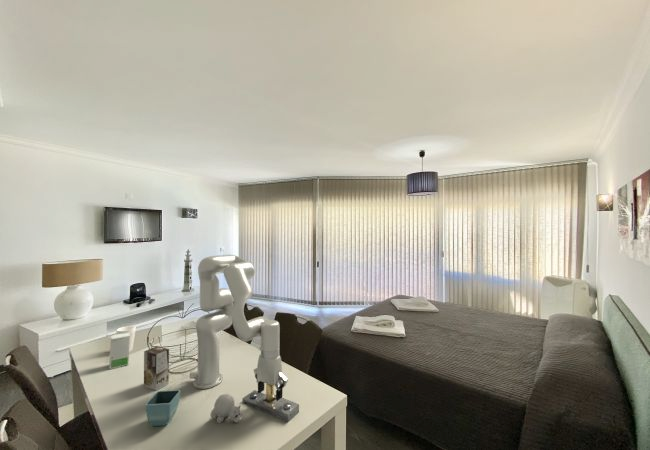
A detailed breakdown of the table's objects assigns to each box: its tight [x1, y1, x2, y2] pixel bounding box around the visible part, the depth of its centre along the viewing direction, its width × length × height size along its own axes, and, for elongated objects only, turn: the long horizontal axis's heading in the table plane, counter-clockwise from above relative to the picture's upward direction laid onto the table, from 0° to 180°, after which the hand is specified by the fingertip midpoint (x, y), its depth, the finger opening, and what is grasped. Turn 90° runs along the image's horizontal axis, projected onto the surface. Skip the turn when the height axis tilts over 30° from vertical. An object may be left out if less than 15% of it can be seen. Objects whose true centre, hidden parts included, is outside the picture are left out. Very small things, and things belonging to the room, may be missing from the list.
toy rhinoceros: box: [210, 393, 243, 424], centre depth 102 cm, size 7×12×8 cm, turn 70°
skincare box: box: [108, 333, 130, 370], centre depth 145 cm, size 8×7×16 cm
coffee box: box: [143, 345, 170, 391], centre depth 126 cm, size 9×6×16 cm
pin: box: [265, 383, 275, 403], centre depth 110 cm, size 3×3×10 cm
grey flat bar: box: [241, 389, 300, 423], centre depth 110 cm, size 24×7×3 cm, turn 59°
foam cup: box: [115, 325, 137, 352], centre depth 163 cm, size 10×9×13 cm
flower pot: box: [144, 389, 181, 427], centre depth 101 cm, size 9×9×9 cm
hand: (269, 395), depth 110 cm, fingers open, 9 cm apart
